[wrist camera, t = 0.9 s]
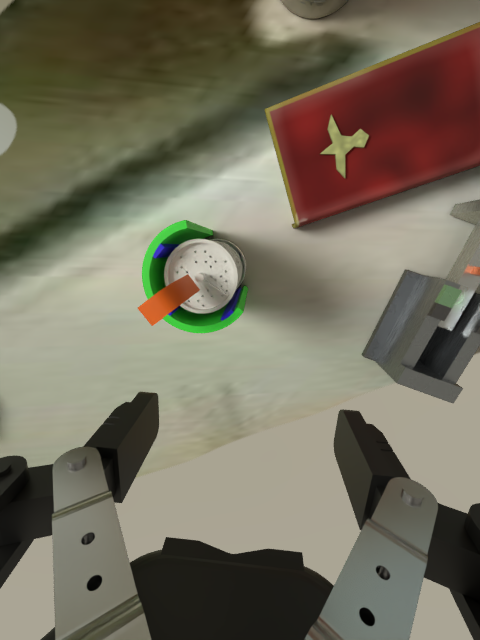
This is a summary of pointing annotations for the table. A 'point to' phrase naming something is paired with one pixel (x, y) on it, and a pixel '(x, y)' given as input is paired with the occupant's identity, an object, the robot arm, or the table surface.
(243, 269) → the green-shelled ribbed roller
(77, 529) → the robot arm
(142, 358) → the table surface
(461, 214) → the plunger
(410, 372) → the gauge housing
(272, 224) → the table surface
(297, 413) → the table surface
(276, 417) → the table surface
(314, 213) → the hardcover book
